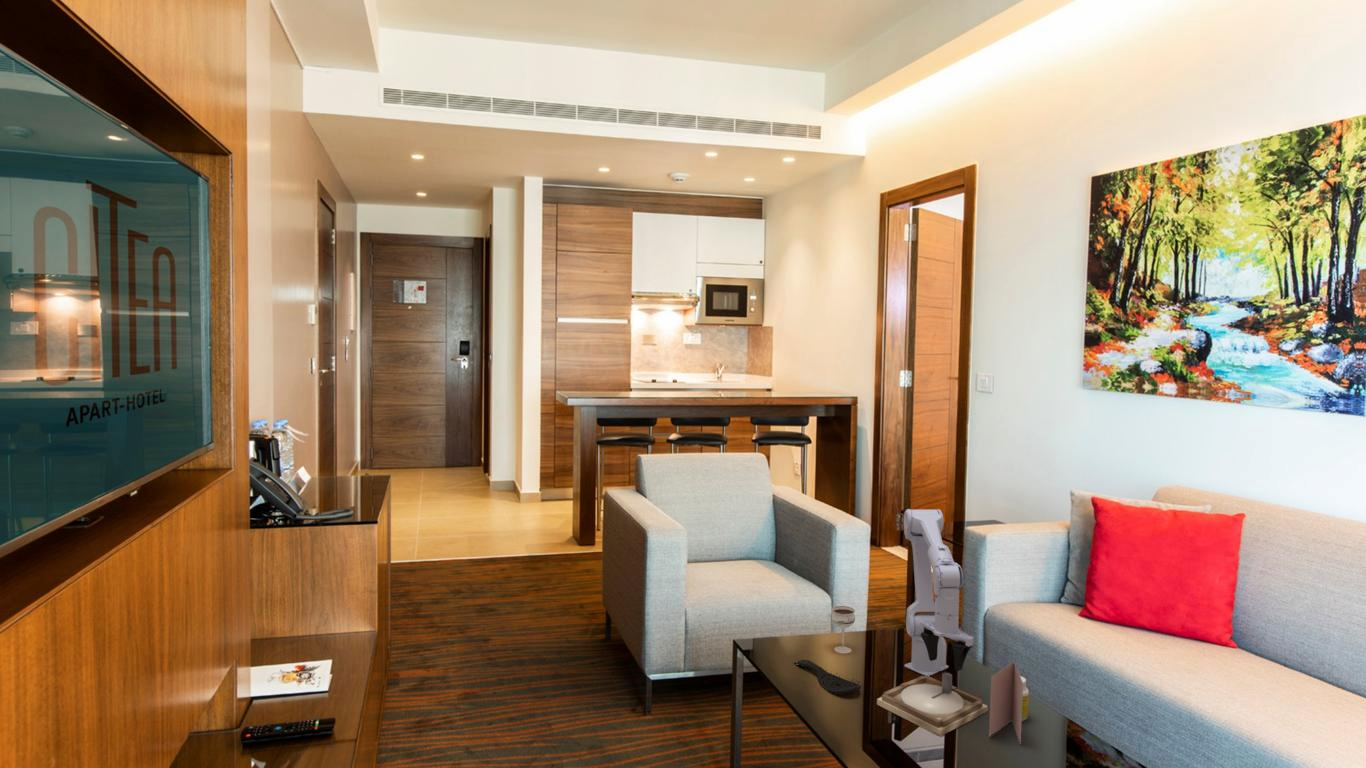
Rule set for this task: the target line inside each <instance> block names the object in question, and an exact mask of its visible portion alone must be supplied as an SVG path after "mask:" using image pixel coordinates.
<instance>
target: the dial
mask: <svg viewBox="0 0 1366 768" xmlns="http://www.w3.org/2000/svg"><path fill="white" fill-rule="evenodd" d="M941 682H942V687H941V686H937V685H929V684H919V685H912V686H909V687H907V688H905V689H904V690H903V691H902V693H901V701H902V702H903V703H905V704H907V705H909V706H911V707H913V708H916V709H918V710H920V711H922V712H924V713H926V714H928V715H930V716H932V717H946V716H948V715H950V714H952V713H954V712H956V711H958V710H960V709H962V708H963V706H964V702H963V699H962V698H961V696H960V695H959V694H957V693H956V692H954V691H952V686H953V674H951V673H950V672H943V673H942V674H941Z"/></svg>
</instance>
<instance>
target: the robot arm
mask: <svg viewBox="0 0 1366 768" xmlns="http://www.w3.org/2000/svg"><path fill="white" fill-rule="evenodd" d="M944 520H945V519H944V514H943V512H942V510H941V509H939V508H937V509H910V508H907V509H906V510H905V511H904V514H903V532H904V533H903V534H904V537H905V538H904V539H906V540H908V541H910V542H911V547H912V557H913V558H912V559H913V560H912V561H913V573H914V574H913V575H914V587H915V601H914V602H913V603H912V604H910V605H909V606H908V607H907V609H906V618H905V626H906V627H905V628H906V632H907V635H908V636H909V637H911V659H910V660H911V662H908V663H905V664H904V668H907V669H909V670H911V671H914V672H916V673H918V674H920V675H921V676H926V675H927V676H929V677H931V676H933V675H935V674H937V673H939V671H940V672H942V671H944V670H946V669H948V668H949V665H947V641H946V639H945V638H947V639H950V640H953V641H956V642H955V643H953V644H951V648H952V650H953V651H952V652H953V655H954V656H953V657H954V659H953V661H954V665H953V666H954V671H956V672H959V671H961V670H963V667H964V664H965V660H966V658H967V655H968V653H969V651H970V650H971V649H972V647H973V646H974V640H975V639H974V636H971V635H969V634H968V633H966V632H964V631H962V630H960V629H959V621H960V620H959V613H960V612H959V611H960V609H959V608H960V589H962V588H963V585H964V573H963V569H962V567H961V565H960V564H958V563H957V562H955V560H954V559H953V558H954V557H953V556H952V552H951V551H950V548H949V546H947V545H946V544H944V542H943V539H942V534H941V533H942V532H943V529H944V524H945V522H944ZM919 612H921V613H919ZM922 612H923V613H922ZM925 612H926V613H925ZM927 612H928V613H927ZM929 612H930V613H929ZM930 675H931V676H930Z"/></svg>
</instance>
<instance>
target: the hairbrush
mask: <svg viewBox="0 0 1366 768" xmlns="http://www.w3.org/2000/svg"><path fill="white" fill-rule="evenodd" d="M800 660H801V661H798V662H797V663H798V664H799V665H801V666H800V667H802V665H803V668H808V669H809V670H812V671H813V672H815V673H816V674H817V678H818V683H819V682H820V684H819V686H820V685H821V686H822V687H823V688H824V689H825V690H824V689H823V688H822V687H821V686H820V687H821V688H822V689H823V690H824V691H826V690H827V691H826V692H827V693H829V694H831V695H833V696H834V695H845V694H850V693H854V692H857V691H859V690H861V688H862V684H859V683H861V681H860V680H857V679H854V678H853V679H846V678H844V677H841V676H843V674H842V673H840V674H839V676H838V673H835V671H834V673H835V674H834V673H832V672H828V669H827V668H826V669H824V668H822V667H821V666H819V665H817V664H816V663H815V662H814V661H812V660H807V659H800Z"/></svg>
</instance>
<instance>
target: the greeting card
mask: <svg viewBox="0 0 1366 768" xmlns="http://www.w3.org/2000/svg"><path fill="white" fill-rule="evenodd" d="M1020 676H1021V675H1020V672H1019V670H1018V667H1017V665H1016V662H1015V661H1013V662H1012V663H1010V664H1008V665H1007V666H1005V667H1004V668H1002V669H1001V670H999V671H998V672H996V673H995V674H993V675H991V679H990V700H989V701H990V702H989V703H990V705H989V728H988V729H989V731H988V738H989V737H990V736H991V735H992V734H994V733H995V732H996V733H998V732H999V731H1001V730H1002V729H1003V728H1004V727H1006V726H1007V725H1008V724H1007V723H1008V722H1009V721H1011V720H1012V721H1013V722H1012V721H1011V722H1012V724H1014V725H1013V727H1015V728H1014V731H1015V730H1016V731H1015V734H1016V733H1017V734H1016V737H1017V736H1018V737H1017V739H1018V738H1019V740H1018V742H1019V741H1020V743H1019V745H1020V744H1022V722H1023V721H1022V698H1023V682H1022V679H1021V677H1020ZM1006 724H1007V725H1006ZM1005 725H1006V726H1005ZM1003 726H1004V727H1003ZM1002 727H1003V728H1002ZM1001 728H1002V729H1001ZM998 730H999V731H998ZM997 731H998V732H997ZM996 733H995V734H996ZM995 734H994V735H995ZM992 736H993V735H992ZM992 736H991V737H992ZM991 737H990V738H991Z"/></svg>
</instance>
